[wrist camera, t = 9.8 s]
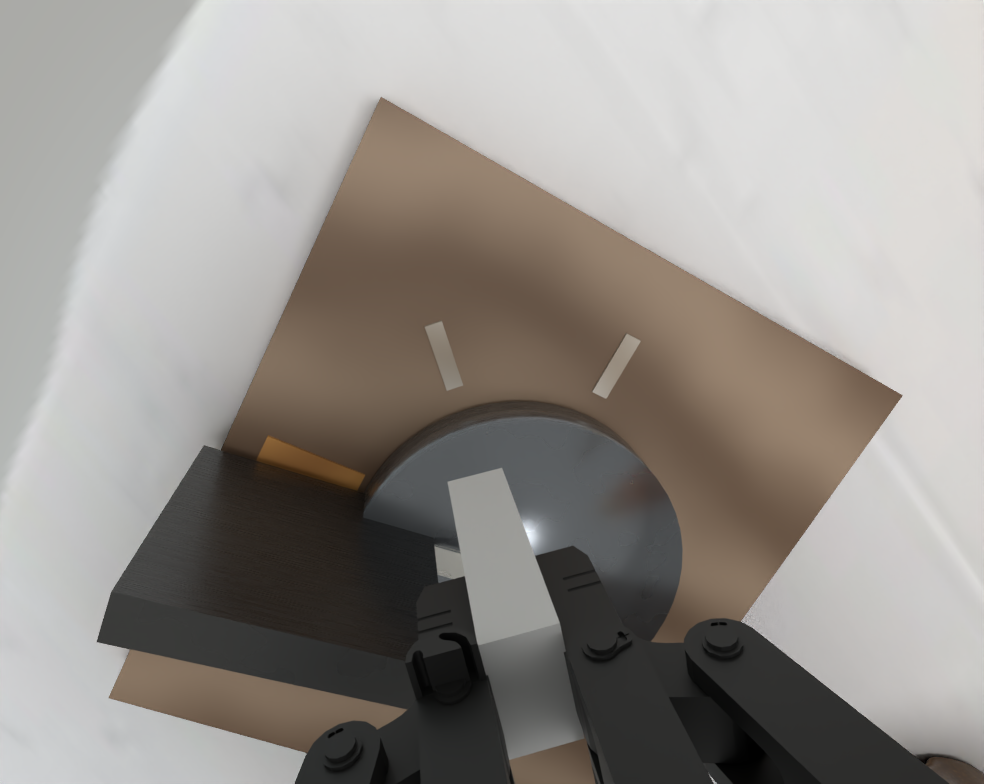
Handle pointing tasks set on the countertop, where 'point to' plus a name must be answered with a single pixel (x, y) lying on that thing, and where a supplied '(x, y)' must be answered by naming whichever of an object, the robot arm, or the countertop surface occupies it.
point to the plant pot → (955, 771)
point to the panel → (525, 392)
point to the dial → (382, 549)
